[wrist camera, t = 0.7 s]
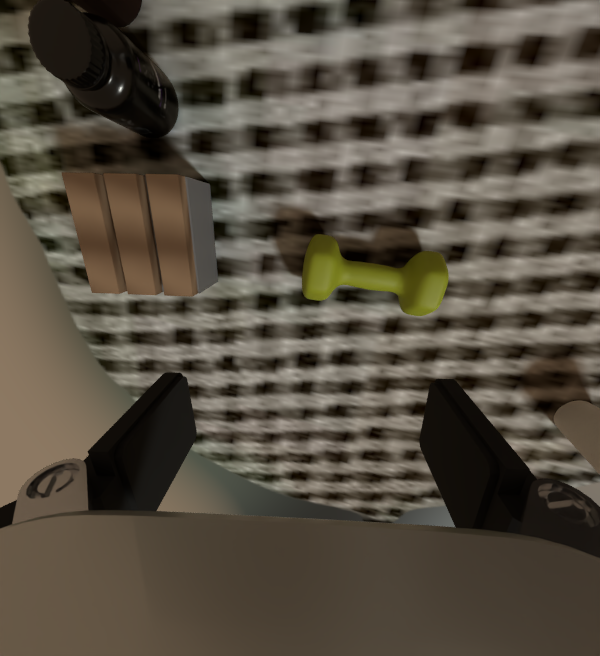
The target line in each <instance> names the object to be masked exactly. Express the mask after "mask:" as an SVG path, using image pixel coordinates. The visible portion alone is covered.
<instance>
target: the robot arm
mask: <svg viewBox="0 0 600 656" xmlns="http://www.w3.org/2000/svg"><path fill="white" fill-rule="evenodd" d="M196 433H197V432H196V426H195V420H194V415H193V409H192V404H191V398H190V393H189V387H188V382H187V378H186V377H183V375H182V374H181V373H164V374H163V375H162V376H161V377H160V378H159V379H158V380H157V381H156V382H155V383H154V384H153V385H152V386H151V387H150V388H149V389H148V390H147V391H146V392H145V393H144V394H143V395H142V396H141V397H140V398H139V399H138V400H137V401H136V402H135V403H134V404H133V406H132V407H131V408H130V409H129V410H128V411H127V412H126V413H125V414H124V415H123V416H122V417H121V418H120V419H119V420H118V421H117V422H116V423H115V424H114V425H113V426H112V427H111V428H110V429H109V430H108V431H107V432H106V433H105V434H104V435H103V436H102V437H101V438H100V439H99V440H98V441H97V443H95V444H94V445H93V447H91V449H90V450H89V451H88V453H89V456H88V457H87V458H86V459H85V460H84V461H82V460H80V459H74V458H73V459H66V460H62V461H59V462H56V463H53V464H51V465H49V466H47V467H45V468H43V469H42V470H40V471H38V472H37V473H35V474H34V475H33V476H32V477H31V478H30V479H28V480H27V481H26V482H25V484H24V485H23V486H22V487H21V489H20V491H19V494H18V498H17V500H16V501H14V502H12V503H9V504H7V505H5V506H3V507H1V508H0V656H600V507H599V506H598V505H597V504H596V503H595V502H594V501H593V500H592V499H591V498H589V497H588V496H586V495H585V494H583V493H582V492H581V491H579V490H577V489H576V488H574V487H572V486H570V485H568V484H565V483H562V482H560V481H557V480H552V479H536V477H535V476H534V475H533V474H532V473H531V471H530V469H529V468H528V467H527V465H526V464H525V463H524V462H523V461H522V459H521V458H520V457H519V456H518V455H517V453H516V452H515V451H514V450H513V449H512V448H511V446H510V445H509V444H508V443H507V442H506V440H505V439H504V438H503V437H502V436H501V434H500V433H499V432H498V431H497V430H496V428H495V427H494V426H493V425H492V424H491V422H490V421H489V420H488V419H487V418H486V416H485V415H484V414H483V413H482V412H481V411H480V409H479V408H478V407H477V406H476V405H475V403H474V402H473V401H472V400H471V399H470V397H469V396H468V395H467V394H466V393H465V391H464V390H463V389H462V388H461V387H460V385H459V384H458V383H457V382H456V381H455V380H454V379H436V381H435V383H431V384H430V388H429V393H428V398H427V403H426V408H425V414H424V419H423V424H422V429H421V435H420V447H421V450H422V453H423V455H424V457H425V459H426V462H427V464H428V466H429V468H430V471H431V473H432V475H433V477H434V480H435V482H436V484H437V486H438V489H439V491H440V493H441V495H442V498H443V500H444V502H445V504H446V507H447V509H448V511H449V513H450V516H451V518H452V520H453V522H454V525H455V527H456V528H455V527H440V526H429V525H412V524H395V523H378V522H361V521H344V520H325V519H307V518H306V519H305V518H288V517H269V516H249V515H228V514H206V513H185V512H162V511H157V509H158V507H159V505H160V503H161V501H162V499H163V497H164V496H165V494H166V492H167V490H168V489H169V487H170V485H171V483H172V481H173V480H174V478H175V476H176V474H177V472H178V470H179V469H180V467H181V465H182V463H183V461H184V459H185V457H186V456H187V454H188V452H189V450H190V448H191V447H192V445H193V443H194V441H195V439H196Z"/></svg>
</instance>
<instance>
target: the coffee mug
mask: <svg viewBox="0 0 600 656" xmlns="http://www.w3.org/2000/svg"><path fill="white" fill-rule="evenodd" d="M71 1H73V2H74V3H76V4H77V5H78V6H80V7H81V8H83V9H84V10H86V11H87V12H88V13H92V14H96V15H99V16H101V17H103V18H105V19H107V20H108V21H110V22H111V23H112V24H114V25H115V26H116V27H117V28H118V27H124V26H126V25H129V24H130V23H131V22H132V21H133V20H134V19H135V18H136V16H137V15H138V13H139V10H140V7H141V3H142V0H71Z"/></svg>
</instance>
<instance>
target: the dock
mask: <svg viewBox="0 0 600 656" xmlns="http://www.w3.org/2000/svg"><path fill="white" fill-rule="evenodd" d="M144 178H145V184H146V190H147V197H148V203H149V209H150V215H151V222H152V228H153V234H154V240H155V247H156V253H157V259H158V265H159V272H160V278H161V284H162V290H163V292H164V288H163V282H162V276H161V269H160V263H159V257H158V250H157V244H156V238H155V232H154V225H153V219H152V213H151V206H150V200H149V194H148V187H147V181H146V176H144ZM185 183H186V191H187V200H188V209H189V218H190V227H191V236H192V244H193V253H194V262H195V271H196V280H197V289H198V293H201V292H202V291H204V290H205V289H207V288H209V287H210V286H212V285H213V284H215V283H216V282H218V275H217V263H216V251H215V240H214V228H213V216H212V204H211V193H210V184H208V183H205V182H202V181H199V180H195V179H192V178H189V177H185Z"/></svg>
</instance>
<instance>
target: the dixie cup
mask: <svg viewBox="0 0 600 656" xmlns="http://www.w3.org/2000/svg"><path fill="white" fill-rule="evenodd" d="M554 424H555V425H556V426H557V427H558V429H559V430H560V431H561V432H562V433H563V434H564V436H565V437H566V438H567V439H568V440H569V441H570V442H571V443H572V444H573V445H574V446H575V447H576V449H577V450H578V451H579V452H580V453H581V454H582V455H583V456H584V457H585V459H586V460H587V461H588V462H589V463H590V464H591V465H592V466H593V468H594V469H595V470H596V471H597V472H598V473H599V474H600V408H598V407H596V406H594V405H593V404H591V403H589V402H587V401H582V400H577V401H572V402H569V403H566V404H565V405H563V406H561V407H560V408H559V409H558V410H557V411H556V413H555V415H554Z"/></svg>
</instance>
